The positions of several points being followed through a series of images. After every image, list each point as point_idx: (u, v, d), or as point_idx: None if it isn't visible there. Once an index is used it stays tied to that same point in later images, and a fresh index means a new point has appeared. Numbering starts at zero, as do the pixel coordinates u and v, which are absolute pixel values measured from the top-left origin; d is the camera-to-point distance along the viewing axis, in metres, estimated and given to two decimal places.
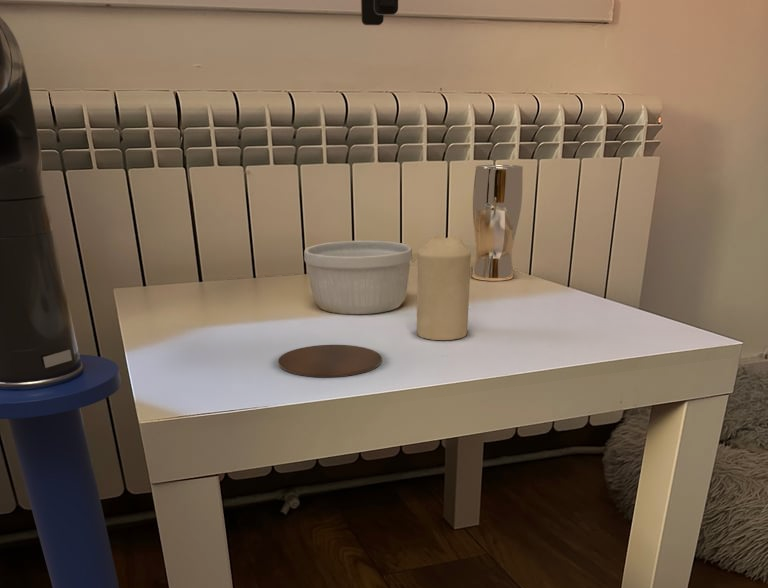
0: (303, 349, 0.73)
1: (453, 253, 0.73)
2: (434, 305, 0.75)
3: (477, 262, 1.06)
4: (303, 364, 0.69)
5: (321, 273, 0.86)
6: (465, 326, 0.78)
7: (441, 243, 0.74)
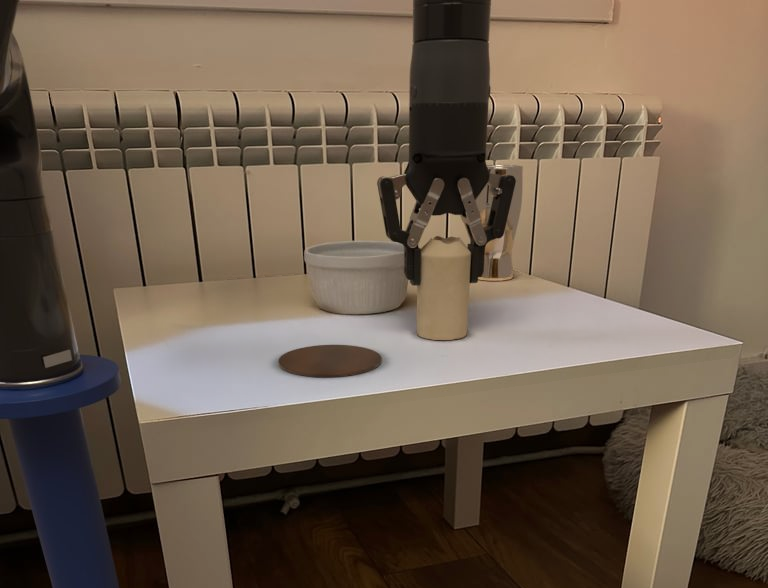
0: (303, 349, 0.73)
1: (453, 253, 0.73)
2: (434, 305, 0.75)
3: None
4: (303, 364, 0.69)
5: (321, 273, 0.86)
6: (465, 326, 0.78)
7: (441, 243, 0.74)
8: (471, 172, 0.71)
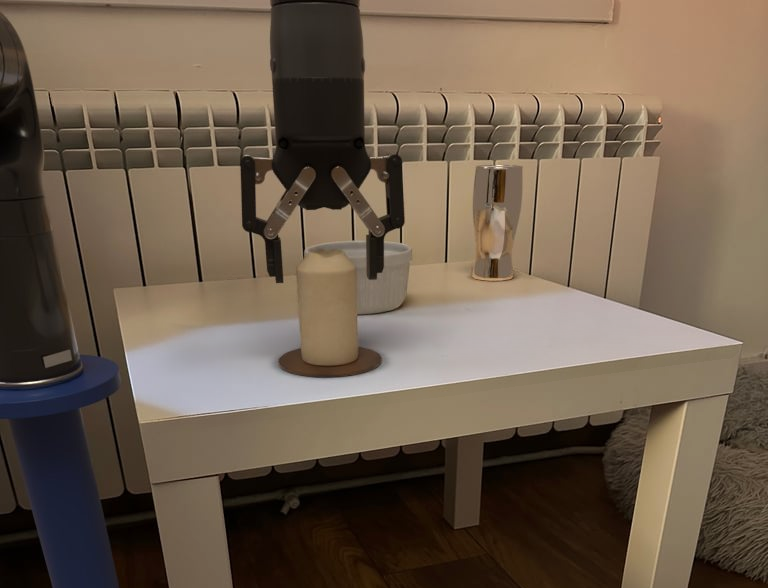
0: None
1: (332, 268, 0.64)
2: (315, 327, 0.67)
3: (477, 262, 1.06)
4: (303, 364, 0.69)
5: None
6: (354, 349, 0.69)
7: (319, 257, 0.65)
8: (347, 163, 0.62)
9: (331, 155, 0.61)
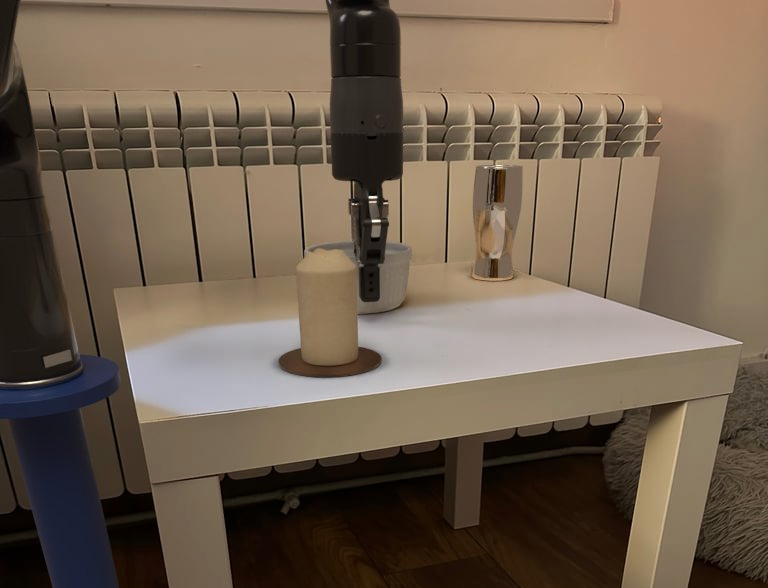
0: None
1: (332, 268, 0.64)
2: (315, 327, 0.67)
3: (477, 262, 1.06)
4: (303, 364, 0.69)
5: None
6: (354, 349, 0.69)
7: (319, 257, 0.65)
8: None
9: None
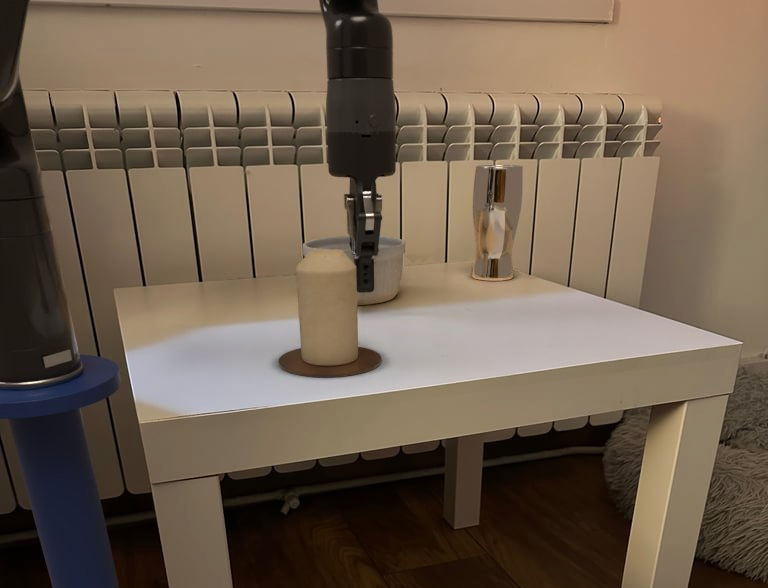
0: None
1: (332, 268, 0.64)
2: (315, 327, 0.67)
3: (477, 262, 1.06)
4: (303, 364, 0.69)
5: None
6: (354, 349, 0.69)
7: (319, 257, 0.65)
8: None
9: None
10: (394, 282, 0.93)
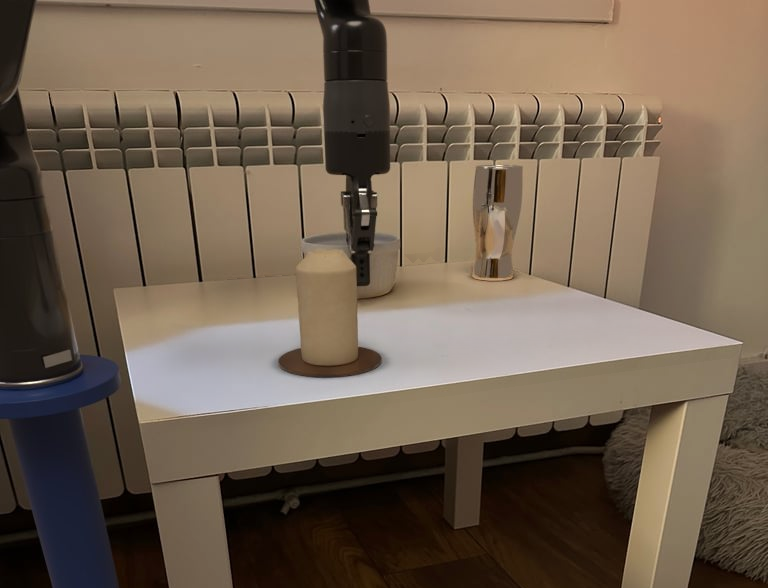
0: None
1: (332, 268, 0.64)
2: (315, 327, 0.67)
3: (477, 262, 1.06)
4: (303, 364, 0.69)
5: None
6: (354, 349, 0.69)
7: (319, 257, 0.65)
8: None
9: None
10: (389, 277, 0.96)
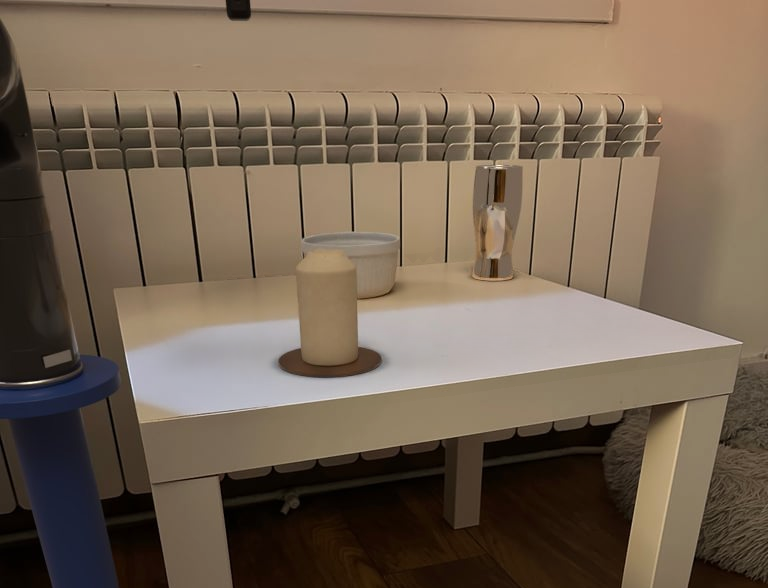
0: None
1: (332, 268, 0.64)
2: (315, 327, 0.67)
3: (477, 262, 1.06)
4: (303, 364, 0.69)
5: None
6: (354, 349, 0.69)
7: (319, 257, 0.65)
8: None
9: None
10: (389, 277, 0.96)
